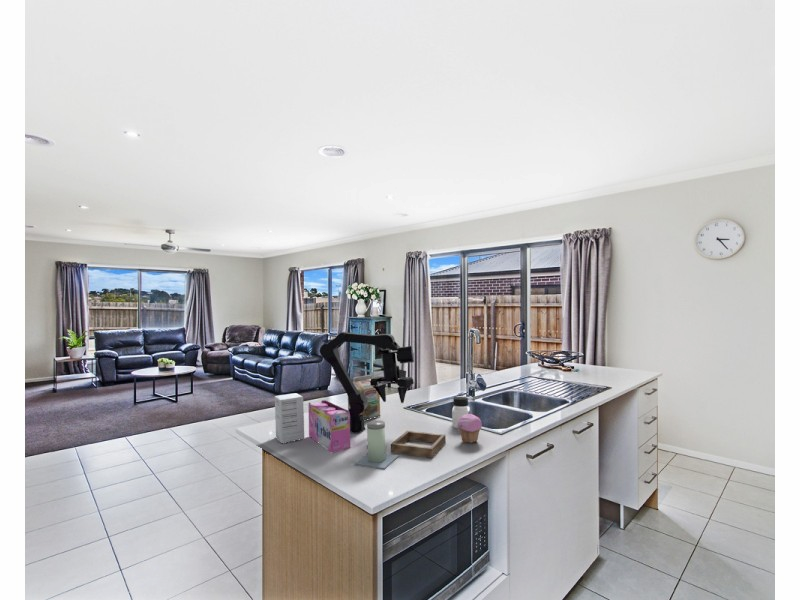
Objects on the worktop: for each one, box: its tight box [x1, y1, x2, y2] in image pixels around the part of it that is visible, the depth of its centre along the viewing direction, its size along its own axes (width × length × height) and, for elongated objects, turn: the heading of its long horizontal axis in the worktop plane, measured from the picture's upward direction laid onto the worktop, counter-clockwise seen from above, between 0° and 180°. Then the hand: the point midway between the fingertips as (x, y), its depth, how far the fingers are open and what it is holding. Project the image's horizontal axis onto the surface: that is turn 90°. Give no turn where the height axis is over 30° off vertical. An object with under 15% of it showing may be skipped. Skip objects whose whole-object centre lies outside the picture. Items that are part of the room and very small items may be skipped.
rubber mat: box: [353, 452, 400, 470], centre depth 133 cm, size 11×11×1 cm
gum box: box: [308, 399, 351, 453], centre depth 153 cm, size 24×8×14 cm, turn 34°
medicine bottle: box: [451, 395, 471, 429], centre depth 169 cm, size 7×7×12 cm
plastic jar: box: [366, 420, 387, 463], centre depth 133 cm, size 6×6×12 cm
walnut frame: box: [390, 430, 447, 459], centre depth 144 cm, size 15×15×3 cm
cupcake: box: [458, 413, 483, 444], centre depth 149 cm, size 9×9×10 cm
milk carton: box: [347, 374, 381, 421], centre depth 186 cm, size 11×10×19 cm
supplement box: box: [274, 392, 305, 444], centre depth 158 cm, size 10×9×17 cm
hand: (393, 402), depth 164 cm, fingers open, 9 cm apart
